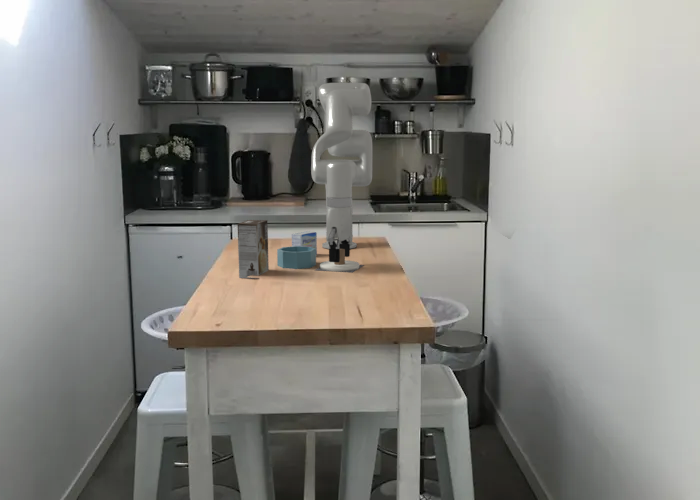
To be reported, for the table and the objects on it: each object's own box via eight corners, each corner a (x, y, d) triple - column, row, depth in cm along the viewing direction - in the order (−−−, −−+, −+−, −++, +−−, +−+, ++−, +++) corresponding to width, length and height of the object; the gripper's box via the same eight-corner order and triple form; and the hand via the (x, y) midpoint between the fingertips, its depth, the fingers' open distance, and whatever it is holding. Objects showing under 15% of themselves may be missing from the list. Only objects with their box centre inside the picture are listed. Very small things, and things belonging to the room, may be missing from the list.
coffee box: (249, 272, 219) (247, 219, 216) (269, 272, 217) (268, 219, 215) (238, 278, 210) (236, 223, 207) (259, 279, 208) (258, 224, 206)
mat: (327, 266, 227) (327, 263, 227) (364, 268, 224) (364, 265, 224) (314, 273, 216) (314, 270, 216) (352, 275, 213) (352, 272, 212)
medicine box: (301, 260, 237) (301, 234, 236) (291, 259, 240) (291, 233, 238) (317, 257, 243) (317, 231, 242) (307, 256, 246) (306, 230, 244)
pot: (287, 264, 231) (286, 245, 230) (319, 266, 228) (319, 247, 227) (273, 270, 221) (272, 251, 220) (307, 272, 217) (306, 253, 216)
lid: (327, 263, 227) (327, 245, 226) (364, 265, 224) (364, 247, 223) (314, 270, 216) (314, 251, 215) (352, 272, 212) (352, 253, 212)
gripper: (336, 200, 226) (336, 253, 229) (317, 205, 210) (318, 263, 212) (359, 200, 224) (359, 255, 226) (342, 206, 207) (342, 265, 210)
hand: (339, 259), depth 219 cm, fingers open, 9 cm apart
